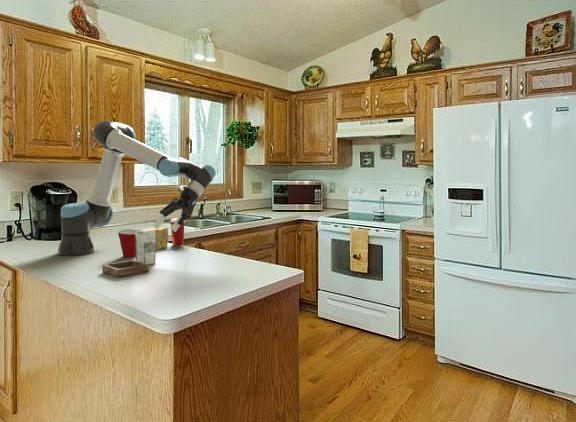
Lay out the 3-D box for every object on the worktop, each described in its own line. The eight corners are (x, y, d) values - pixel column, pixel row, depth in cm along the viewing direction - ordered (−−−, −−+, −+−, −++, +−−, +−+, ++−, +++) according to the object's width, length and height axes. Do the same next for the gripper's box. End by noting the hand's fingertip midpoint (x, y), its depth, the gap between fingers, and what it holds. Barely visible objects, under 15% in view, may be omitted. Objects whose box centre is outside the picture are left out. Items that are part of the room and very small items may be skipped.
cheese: (158, 249, 199) (158, 229, 199) (139, 248, 202) (138, 229, 201) (168, 246, 210) (168, 227, 209) (150, 245, 212) (149, 226, 211)
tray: (102, 272, 150) (102, 264, 150) (132, 267, 159) (132, 260, 159) (118, 278, 143) (118, 269, 142) (148, 272, 152) (148, 264, 152)
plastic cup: (129, 259, 175) (128, 232, 174) (112, 257, 179) (111, 230, 178) (148, 255, 184) (147, 229, 183) (131, 253, 189) (130, 228, 188)
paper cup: (188, 244, 216) (187, 218, 215) (179, 246, 209) (179, 219, 208) (175, 243, 219) (175, 217, 218) (167, 245, 212) (167, 219, 211)
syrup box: (147, 262, 170) (146, 228, 169) (156, 263, 167) (155, 229, 166) (135, 264, 165) (134, 229, 164) (144, 266, 162) (143, 230, 161)
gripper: (214, 199, 175) (186, 236, 165) (180, 197, 191) (153, 231, 181) (204, 187, 171) (175, 225, 161) (170, 186, 187) (142, 220, 176)
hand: (163, 228), depth 171 cm, fingers open, 13 cm apart
